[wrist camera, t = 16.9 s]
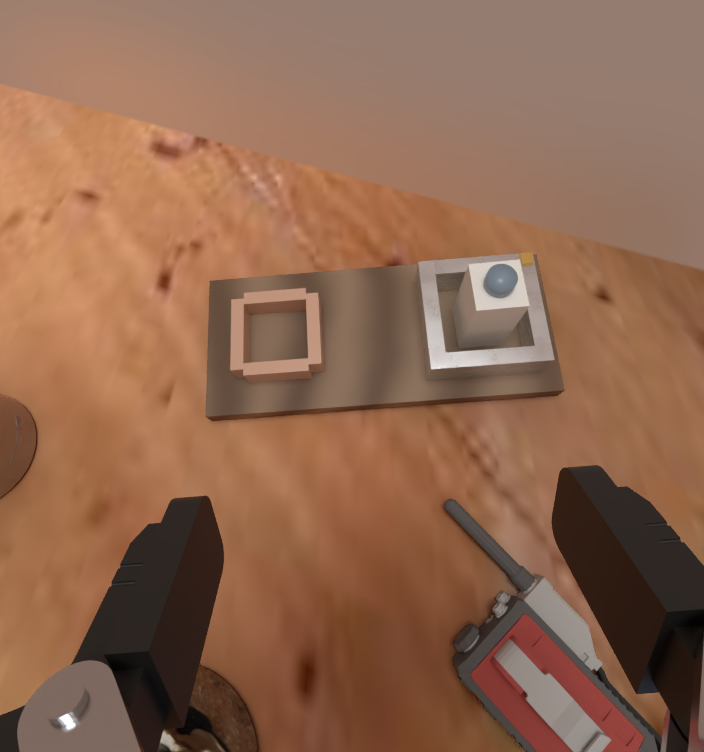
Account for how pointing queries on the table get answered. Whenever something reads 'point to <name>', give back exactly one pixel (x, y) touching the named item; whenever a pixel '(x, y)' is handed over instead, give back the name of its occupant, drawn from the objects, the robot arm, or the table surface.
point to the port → (487, 362)
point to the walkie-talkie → (543, 668)
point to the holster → (274, 304)
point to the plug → (489, 303)
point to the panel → (351, 348)
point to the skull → (212, 720)
